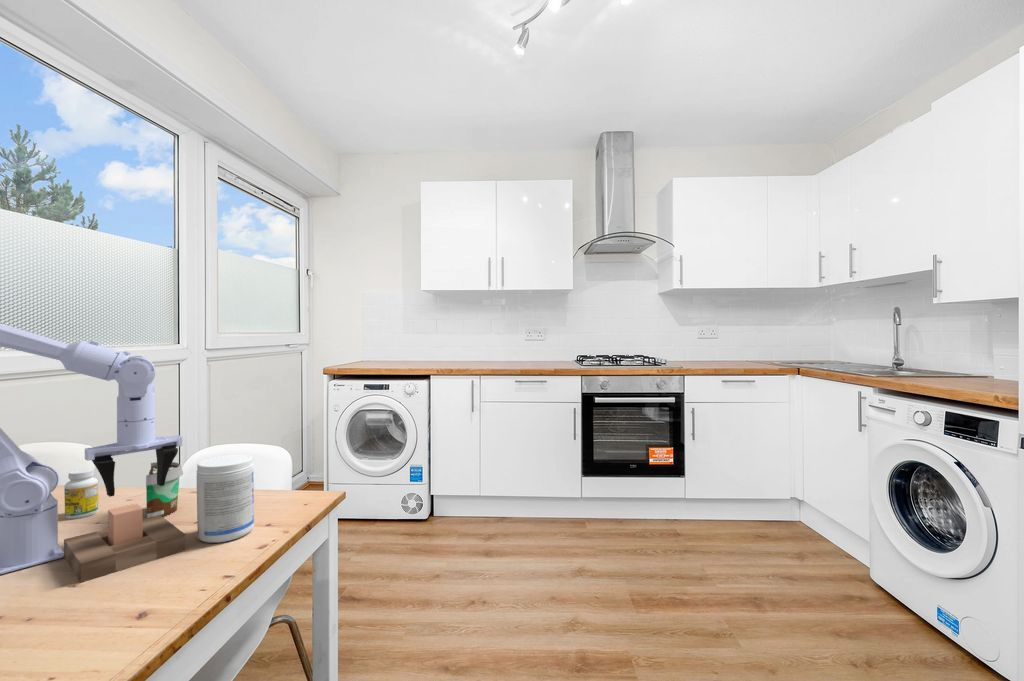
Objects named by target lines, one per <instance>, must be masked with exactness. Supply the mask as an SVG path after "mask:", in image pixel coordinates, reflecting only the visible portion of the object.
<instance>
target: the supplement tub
mask: <svg viewBox="0 0 1024 681" xmlns="http://www.w3.org/2000/svg"><path fill="white" fill-rule="evenodd" d="M196 469H197V470H196V516H197V518H196V519H197V520H196V522H197V523H196V524H197V525H196V526H197V528H196V529H197V538H198V540H200V541H201V542H203V543H209V544H210V543H215V544H216V543H217V544H219V543H224V542H231V541H233V540H236V539H239V538H242V537H243V536H245V535H248V534H249V533H251V531H252V530H253V529H254V526H255V496H254V495H255V494H254V489H255V485H254V484H255V483H254V482H255V481H254V463H253V457H252V456H251V455H248V454H226V455H218V456H214V457H210V458H209V457H208V458H205V459H203V460H201V461H199V462H198V463H197V464H196Z"/></svg>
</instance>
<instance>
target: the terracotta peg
mask: <svg viewBox="0 0 1024 681" xmlns="http://www.w3.org/2000/svg"><path fill="white" fill-rule="evenodd" d="M143 511H144V510H143V507H142V506H140V505H139V504H138V503H132V504H129V505H124V506H119V507H114V508H110V509H108V510H107V522H108V523H107V528H108V546H113V545H116V544H120V543H124V542H127V541H131V540H134V539H138V538H142V537H143V519H144V516H143V515H144V514H143V513H144V512H143Z"/></svg>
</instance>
